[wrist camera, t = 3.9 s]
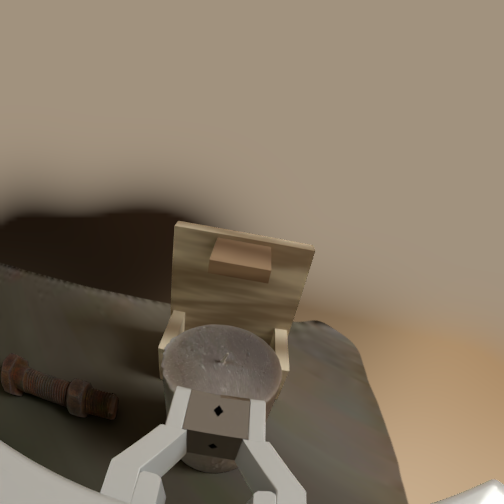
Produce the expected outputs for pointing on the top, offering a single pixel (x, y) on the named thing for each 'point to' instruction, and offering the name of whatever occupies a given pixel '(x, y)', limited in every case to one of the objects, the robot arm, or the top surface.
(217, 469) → the pillar candle
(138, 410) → the top surface
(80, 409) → the bolt
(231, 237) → the cradle
